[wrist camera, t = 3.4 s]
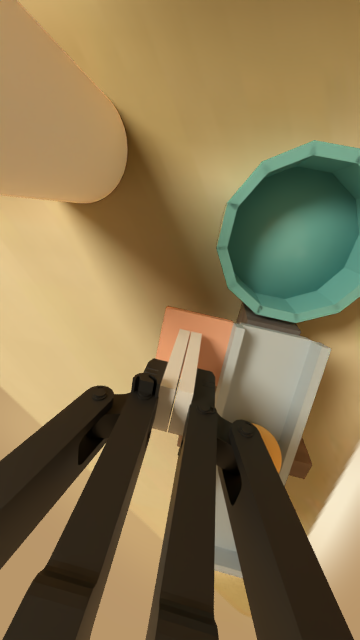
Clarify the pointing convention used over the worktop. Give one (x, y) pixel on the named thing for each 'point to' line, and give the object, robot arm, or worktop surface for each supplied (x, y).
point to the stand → (249, 317)
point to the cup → (53, 119)
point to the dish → (296, 234)
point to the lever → (251, 391)
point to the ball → (271, 446)
